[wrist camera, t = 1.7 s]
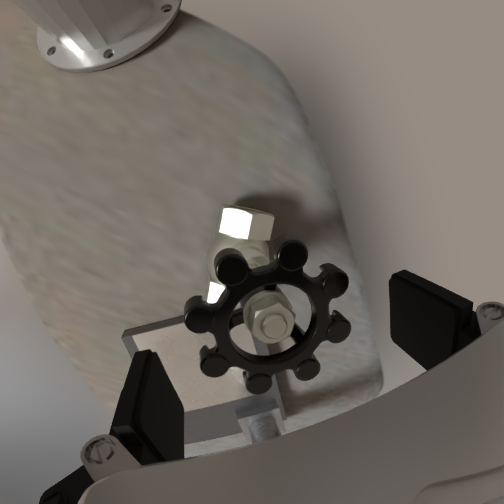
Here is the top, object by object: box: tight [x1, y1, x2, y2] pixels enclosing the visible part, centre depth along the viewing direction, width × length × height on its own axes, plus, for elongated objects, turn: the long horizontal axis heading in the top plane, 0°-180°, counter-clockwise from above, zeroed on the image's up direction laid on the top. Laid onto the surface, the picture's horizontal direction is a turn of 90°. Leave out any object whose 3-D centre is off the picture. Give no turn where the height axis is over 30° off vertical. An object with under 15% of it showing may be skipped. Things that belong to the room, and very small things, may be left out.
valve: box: [184, 204, 351, 395], centre depth 16 cm, size 7×7×12 cm
